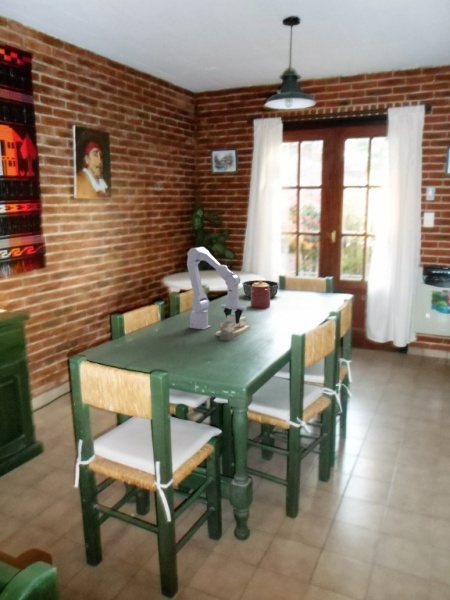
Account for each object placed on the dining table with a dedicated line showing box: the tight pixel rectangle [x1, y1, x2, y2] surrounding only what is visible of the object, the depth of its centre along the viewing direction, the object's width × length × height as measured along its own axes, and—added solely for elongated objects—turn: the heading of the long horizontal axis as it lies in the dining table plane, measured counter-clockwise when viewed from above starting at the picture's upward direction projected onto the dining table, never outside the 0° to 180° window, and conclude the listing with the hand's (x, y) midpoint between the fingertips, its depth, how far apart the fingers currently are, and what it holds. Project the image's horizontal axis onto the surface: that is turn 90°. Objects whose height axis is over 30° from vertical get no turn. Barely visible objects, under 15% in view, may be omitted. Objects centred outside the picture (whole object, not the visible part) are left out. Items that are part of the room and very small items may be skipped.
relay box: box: [219, 331, 234, 342], centre depth 248 cm, size 5×4×4 cm
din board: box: [215, 315, 251, 338], centre depth 261 cm, size 10×20×6 cm, turn 151°
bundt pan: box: [242, 279, 280, 299], centre depth 354 cm, size 26×26×10 cm
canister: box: [250, 279, 271, 309], centre depth 320 cm, size 13×13×18 cm
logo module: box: [226, 313, 239, 328], centre depth 260 cm, size 4×5×6 cm
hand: (233, 322), depth 261 cm, fingers closed on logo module, 4 cm apart
